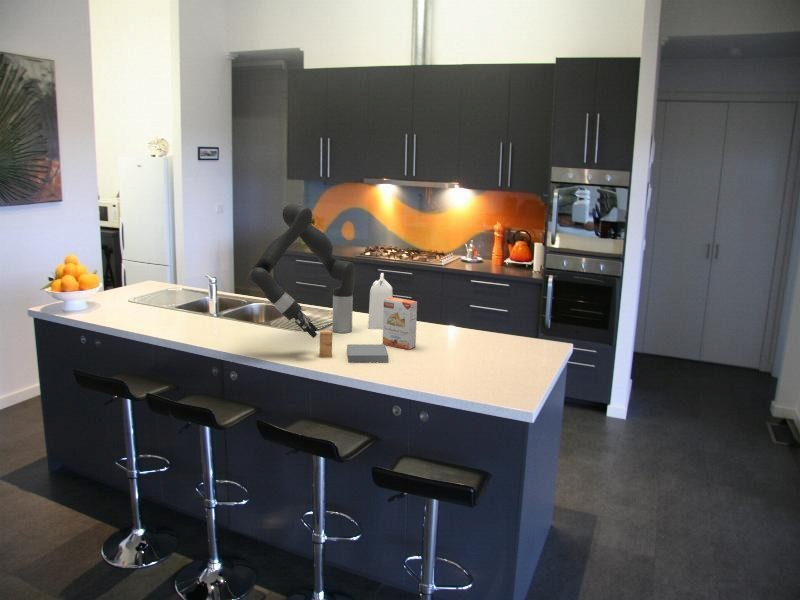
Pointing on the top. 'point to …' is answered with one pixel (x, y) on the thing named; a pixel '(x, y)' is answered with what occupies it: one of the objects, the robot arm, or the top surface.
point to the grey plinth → (367, 353)
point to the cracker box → (399, 323)
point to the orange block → (325, 343)
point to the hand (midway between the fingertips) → (315, 333)
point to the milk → (378, 302)
